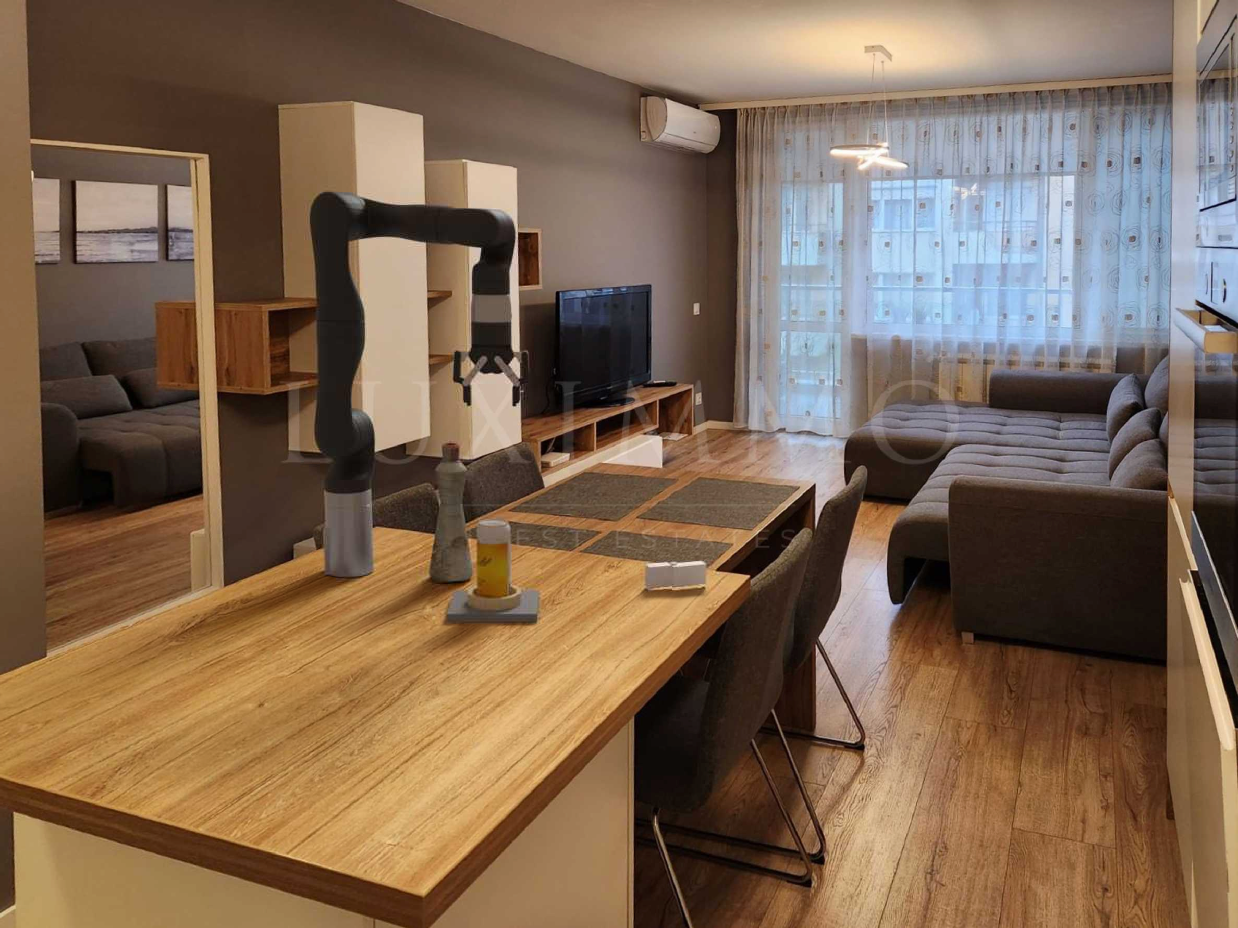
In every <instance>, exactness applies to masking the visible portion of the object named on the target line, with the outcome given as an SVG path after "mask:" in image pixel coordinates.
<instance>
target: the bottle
mask: <svg viewBox="0 0 1238 928" xmlns="http://www.w3.org/2000/svg"><path fill="white" fill-rule="evenodd" d="M441 451H442V452H441V453H442V454H441V455H442V460H441V462H440V463H439V464H438V465H437V466H436V467H435V469H434V470H435V471H434V473H435V477H436V482H437V483H436V484H437V490H438V494H439V501H440V504H439V509H438V514H437V522H436V527H435V528H436V529H435V532H434V533H435V534H434V539H433V545H432V550H431V551H432V552H431V558H430V563H429V564H430V565H429V569H428V575H429V576H430V578H431V579H432V580H433V581H434V582H435V583H452V582H465V581H468V580H469V581H470V580H471V578H472V577H473V574H474V569H473V568H474V567H473V563H472V557H471V552H470V545H469V539H468V537H469V536H468V532H467V525H466V520H465V514H464V513H465V512H464V509H463V502H462V501H463V497H464V496H463V493H464V489H465V485H466V483H465V482H466V477H467V471H468V470H467V467H466V466H465V465H464V463H462V462H461V460H460V459H459V458H460V444H459V443H455V442H452V441H449V442H445V443H443V444H442V446H441Z"/></svg>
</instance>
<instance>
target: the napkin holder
mask: <svg viewBox="0 0 1238 928" xmlns="http://www.w3.org/2000/svg"><path fill="white" fill-rule="evenodd" d="M644 568H645V573H644V575H645V576H644V577H645V578H644V580H645V581H644V582H645V583H644V587H645V586H646V587H647V588H648V589H649V590H651V589H654V588H660V587H669V586H672V587H673V588H675V587H684V586H692V585H699V584H706V585H707V564H706V562H704V561H703V560H698V561H686V562H676V561H670V563H669V562H653V563H645V567H644Z"/></svg>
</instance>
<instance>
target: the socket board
mask: <svg viewBox="0 0 1238 928" xmlns="http://www.w3.org/2000/svg"><path fill="white" fill-rule="evenodd" d="M451 597H452V598H451V600H450V603H449V606H448V609H447V612H446V623H537V622H538V616H539V606H540V589H522V588H520V587H518V586H516V585H514V584H511V596H508V597H502V598H484V597H479V596H477V585H475V586H473V587H471V588H468V589H463V590H461V589H459V590H458V589H455V590H454V591H453V594H452V596H451Z"/></svg>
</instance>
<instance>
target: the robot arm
mask: <svg viewBox="0 0 1238 928" xmlns="http://www.w3.org/2000/svg"><path fill="white" fill-rule="evenodd" d="M309 226H310V227H309V228H310V237H311V243H312V245H311V246H312V251H313V261H314V273H315V276H314V277H315V298H316V299H315V302H316V303H315V304H316V307H315V308H316V310H315V313H316V314H315V318H316V321H315V323H316V326H315V327H316V346H317V347H316V350H317V351H316V353H317V354H316V355H317V359H316V360H317V361H316V362H317V363H316V364H317V366H316V367H317V368H316V369H317V371H316V372H317V375H316V376H317V388H316V390H317V391H316V403H315V404H316V405H315V413H314V414H315V415H314V424H313V426H314V427H313V428H314V430H313V432H314V433H313V434H314V440H315V445H316V447H317V448H318V450H319V451H320V453H321V454H322V455H323V456H324V457H326V458H328V459H330V460H333V461H332V464H331V467H330V468H329V470H328V472H327V473H326V474H325V475H324V478H323V489H324V490H323V493H324V515H325V516H324V517H325V519H324V520H325V521H324V522H325V526H324V528H323V529H322V534H323V535H322V538H323V559H324V575H325V576H333V577H336V578H337V577H338V578H339V577H340V578H355V577H362V576H366V575H368V574H371V573H373V572H374V569H375V567H374V562H375V559H374V538H373V537H374V534H373V511H372V510H373V508H372V507H373V506H372V501H373V500H372V479H373V476H374V473H375V465H376V464H375V463H376V461H375V460H376V435H375V428H374V424H373V421H372V419H371V417H370V416H369V415H368V413H366V412H365V411H363V410H362V409H360V408H352V407H353V406H352V405H353V404H352V394H353V393H352V391H353V386H354V385H353V384H354V381H355V378H356V374H357V372H358V369H359V366H360V364H361V360H362V358H363V353H364V349H365V345H366V315H365V313H366V312H365V308H364V304H363V301H362V299H361V296H360V294H359V291H358V288H357V287H356V283H355V281H354V279H353V276H352V272H351V268H350V254H349V253H350V248H349V245H350V242H354V241H357V240H365V239H372V238H373V239H374V238H398V239H404V240H408V241H413V242H418V243H427V244H434V245H436V244H437V245H449V246H450V245H458V246H462V247H470V248H476V249H477V248H478V249H480V253H479V254H480V256H479V260H478V262H476V263H475V264H474V265H473V267H472V269H471V302H470V350H469V351H467V350H461V349H457V350H455V351H454V352H453V366H452V367H453V368H452V369H453V373H452V381H453V382H454V383H457V384H459V385H462V401H463V403H464V404H466V406H467V407H471V406H472V385H471V382H472V381H473V379H474V378H475V377H476V376H477V374H479V373H481V374H482V375H488V374H493V375H501V374H502V373H504V375H505V376H506V377H507V379H509V381H510V382H511V384H512V388H511V391H512V393H511V394H512V395H511V396H512V397H511V398H512V399H511V400H512V401H511V404H512V406H511V407H517V404H519V403H520V402H521V386H523V385H526V384H528V383H529V382H530V380H531V374H530V358H529V357H530V356H529V355H530V354H529V351H528V350H526V349H525V350H522V351H514V350H513V346H512V345H513V344H512V343H513V342H512V333H513V332H512V319H513V318H512V317H513V313H512V302H511V301H512V300H511V276H510V273H511V272H510V270H511V266H512V262H513V258H514V257H513V256H514V252H515V246H516V240H517V237H516V225H515V222H514V220H513V217H511V215H510V214H509V213H508V212H506V211H504V210H501V209H492V208H477V207H475V208H474V207H473V208H471V207H469V208H467V207H466V208H465V207H464V208H463V207H460V208H459V207H456V206H449V205H440V204H425V203H423V204H420V203H418V204H395V203H394V204H393V203H385V202H382V201H378V200H373V199H369V198H366V197H363V196H359V195H357V194H354V193H351V192H343V191H333V190H332V191H324V192H321V193H319V194H318V195H316V197H315V198H314V199H313V201H312V204H311V206H310V211H309ZM466 358H469V360H470V361H471V363H472V364H473V365H474V366H473V368H471V370H470V371H469V373H468V374H467V375H466V377H464V376H462V363H464V362H465V361H466V360H467V359H466ZM514 358H515V359H517V361H518V362H517V363H520V364H521V367H522V369H521V370H522V376H521V377H518V375H516V373H515V371H514V370H513V368H512V367H511V366H510V364H511V362H512V361H513V360H514Z"/></svg>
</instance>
